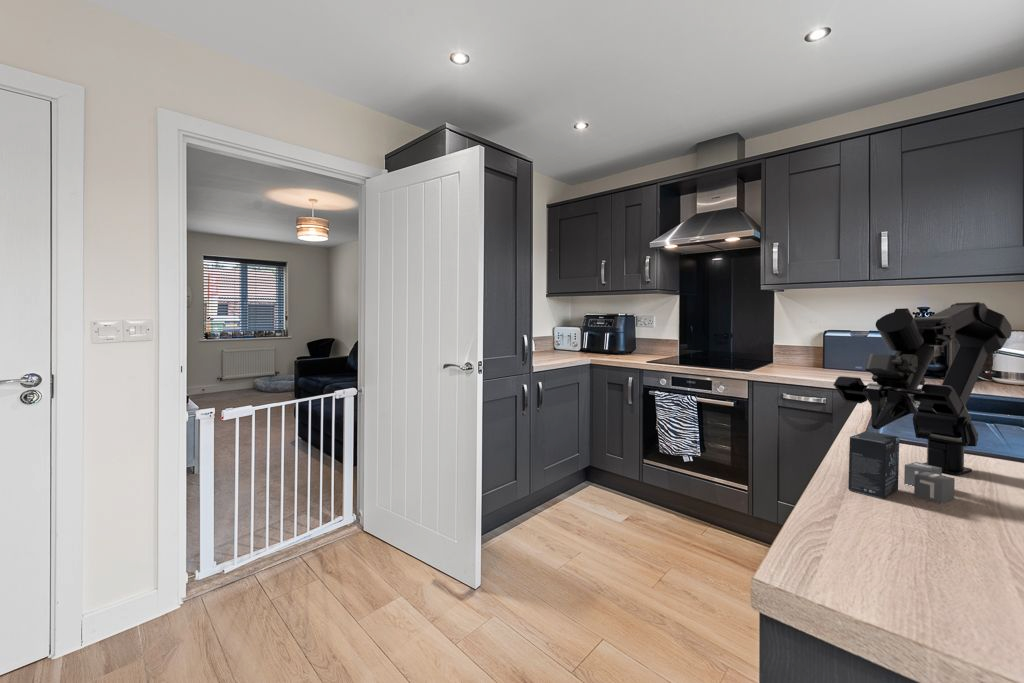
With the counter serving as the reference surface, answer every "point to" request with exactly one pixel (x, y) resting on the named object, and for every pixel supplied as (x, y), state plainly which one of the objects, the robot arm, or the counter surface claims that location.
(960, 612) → the counter surface
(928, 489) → the marked cube seven
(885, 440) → the box
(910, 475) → the marked cube one
